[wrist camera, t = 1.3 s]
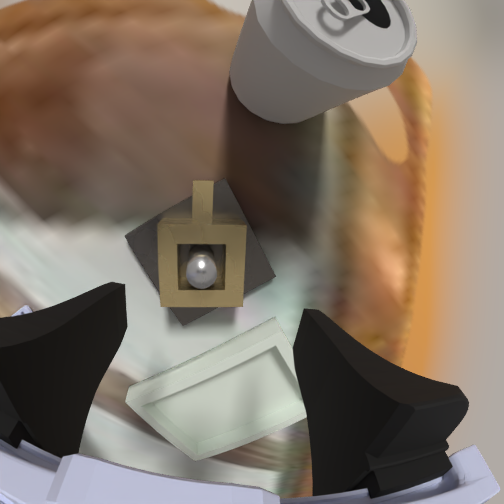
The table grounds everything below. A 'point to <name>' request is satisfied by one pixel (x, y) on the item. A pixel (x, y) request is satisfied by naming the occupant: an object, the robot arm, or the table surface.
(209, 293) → the square frame with tab
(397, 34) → the can
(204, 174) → the table surface
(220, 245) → the square base with knob
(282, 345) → the tray
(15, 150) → the table surface
